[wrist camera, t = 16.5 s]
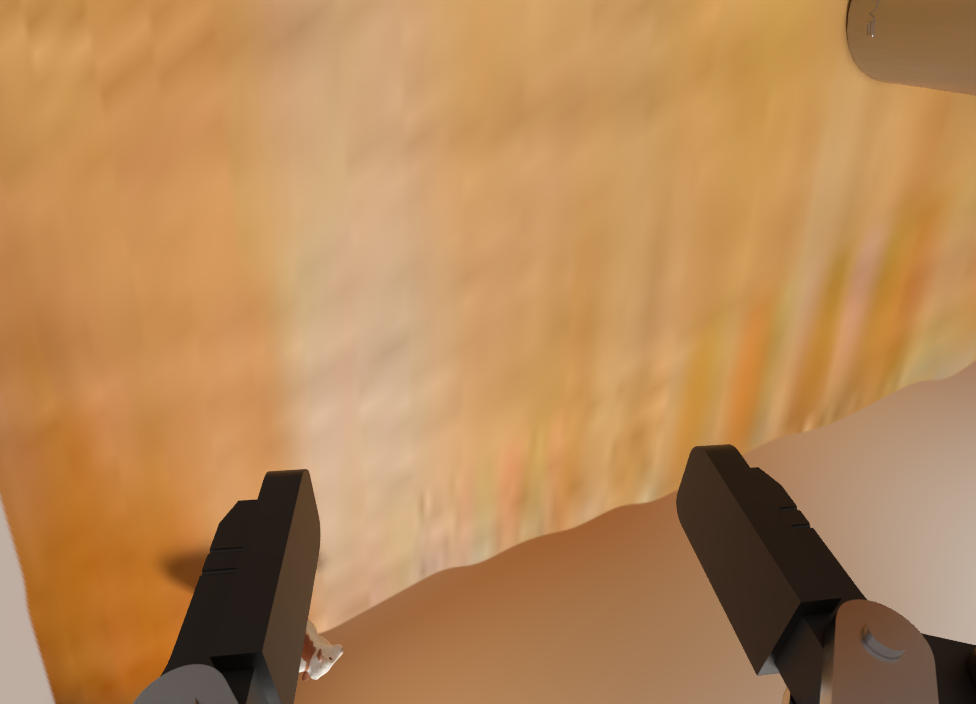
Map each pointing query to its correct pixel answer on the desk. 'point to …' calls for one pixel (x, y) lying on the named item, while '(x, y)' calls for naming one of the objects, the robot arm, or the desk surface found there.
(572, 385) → the desk surface
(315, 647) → the bull figurine
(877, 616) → the robot arm
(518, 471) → the desk surface
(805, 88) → the desk surface
